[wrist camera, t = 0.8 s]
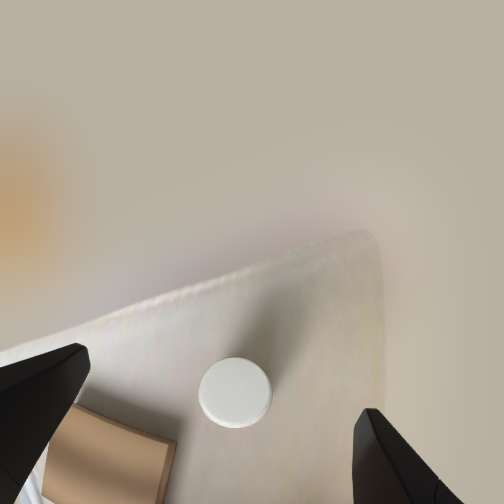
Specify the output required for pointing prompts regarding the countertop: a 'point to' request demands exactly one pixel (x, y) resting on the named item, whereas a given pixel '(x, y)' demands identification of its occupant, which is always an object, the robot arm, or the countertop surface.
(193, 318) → the countertop surface
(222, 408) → the pill bottle
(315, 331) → the countertop surface
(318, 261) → the countertop surface
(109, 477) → the brown square block
